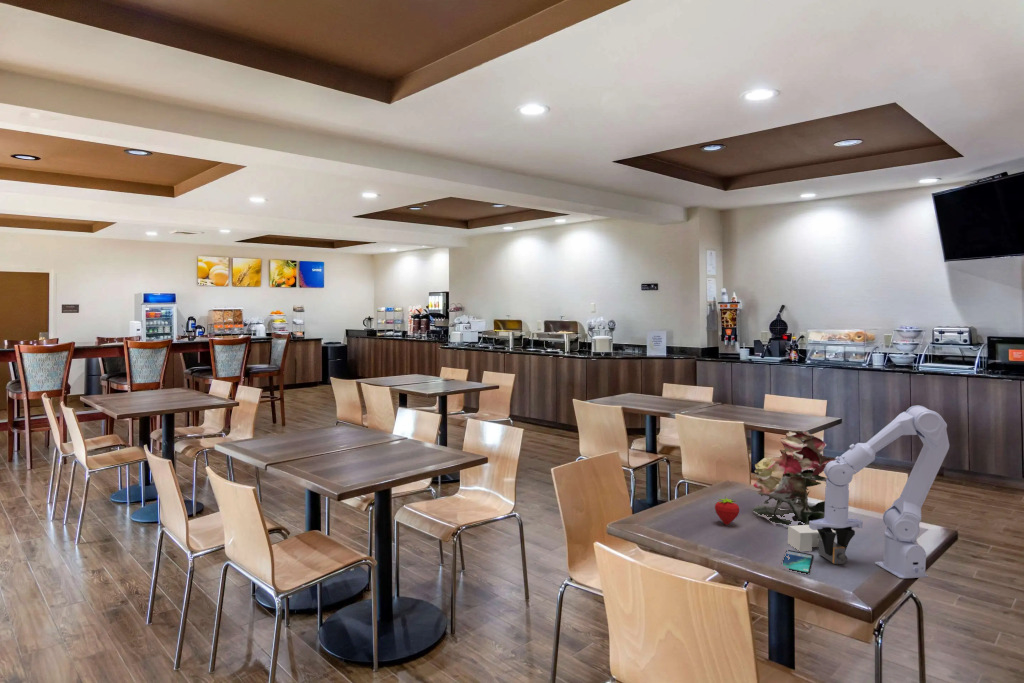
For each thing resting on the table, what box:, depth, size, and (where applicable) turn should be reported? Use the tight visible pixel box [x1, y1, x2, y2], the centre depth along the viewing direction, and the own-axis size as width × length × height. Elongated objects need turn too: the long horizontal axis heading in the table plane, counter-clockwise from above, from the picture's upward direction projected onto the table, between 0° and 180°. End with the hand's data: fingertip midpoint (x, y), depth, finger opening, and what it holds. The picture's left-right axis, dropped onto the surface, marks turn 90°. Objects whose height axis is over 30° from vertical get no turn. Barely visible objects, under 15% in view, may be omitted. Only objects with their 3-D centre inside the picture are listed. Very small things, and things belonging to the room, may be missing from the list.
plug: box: [818, 539, 848, 565], centre depth 168 cm, size 9×3×4 cm, turn 7°
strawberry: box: [714, 496, 740, 526], centre depth 195 cm, size 6×8×10 cm
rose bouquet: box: [752, 429, 836, 525], centre depth 200 cm, size 26×29×30 cm
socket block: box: [787, 524, 837, 552], centre depth 177 cm, size 6×11×6 cm, turn 97°
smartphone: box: [782, 549, 814, 574], centre depth 167 cm, size 7×1×15 cm
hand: (834, 553), depth 167 cm, fingers closed on plug, 3 cm apart
